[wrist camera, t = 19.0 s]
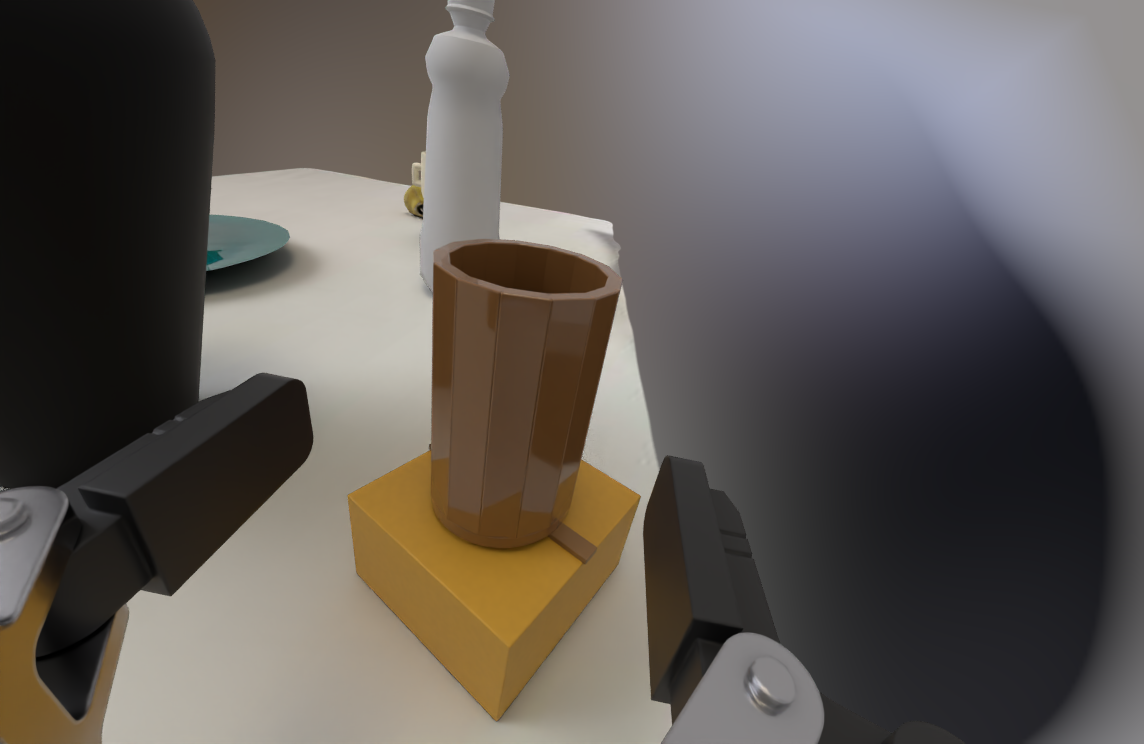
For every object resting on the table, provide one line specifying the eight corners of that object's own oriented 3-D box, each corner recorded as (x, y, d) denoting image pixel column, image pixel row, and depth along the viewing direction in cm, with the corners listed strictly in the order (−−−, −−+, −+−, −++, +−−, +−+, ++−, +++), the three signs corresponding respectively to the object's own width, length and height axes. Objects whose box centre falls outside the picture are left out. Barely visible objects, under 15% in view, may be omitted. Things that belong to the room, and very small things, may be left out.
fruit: (411, 222, 78) (395, 202, 84) (442, 232, 83) (424, 212, 89) (422, 192, 76) (405, 173, 82) (453, 204, 81) (434, 185, 86)
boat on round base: (236, 218, 63) (210, 131, 57) (339, 264, 49) (317, 155, 44) (-86, 251, 43) (-176, 123, 37) (-63, 342, 29) (-199, 163, 24)
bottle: (481, 278, 58) (500, -7, 44) (507, 304, 52) (540, -21, 37) (411, 278, 54) (407, -40, 39) (430, 307, 47) (433, -62, 33)
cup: (597, 489, 20) (653, 278, 15) (504, 580, 15) (542, 317, 10) (502, 429, 22) (523, 233, 18) (398, 490, 18) (388, 247, 13)
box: (620, 565, 23) (644, 492, 20) (498, 725, 16) (513, 645, 13) (494, 475, 27) (501, 406, 24) (354, 571, 20) (344, 488, 17)
